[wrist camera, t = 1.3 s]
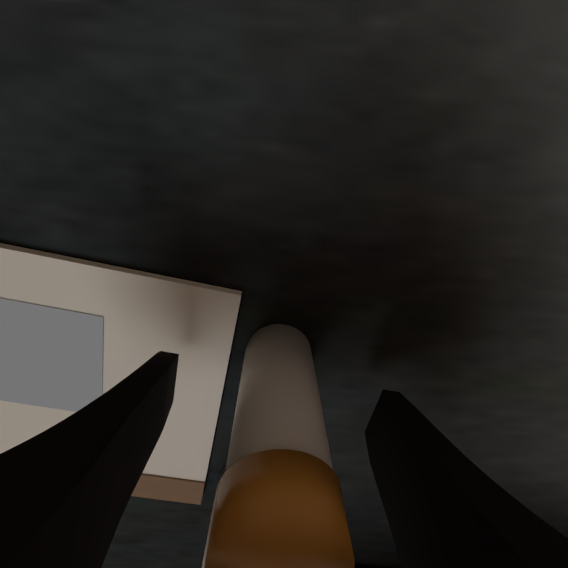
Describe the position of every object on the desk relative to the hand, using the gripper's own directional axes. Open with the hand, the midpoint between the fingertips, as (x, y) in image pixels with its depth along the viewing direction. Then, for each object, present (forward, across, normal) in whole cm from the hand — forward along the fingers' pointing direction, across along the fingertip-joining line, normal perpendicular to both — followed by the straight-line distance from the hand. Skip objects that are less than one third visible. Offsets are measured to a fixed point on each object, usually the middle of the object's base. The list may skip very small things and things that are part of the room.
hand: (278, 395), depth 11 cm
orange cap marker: (+3, 0, 0) cm, 3 cm away
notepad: (+3, +8, +4) cm, 10 cm away
